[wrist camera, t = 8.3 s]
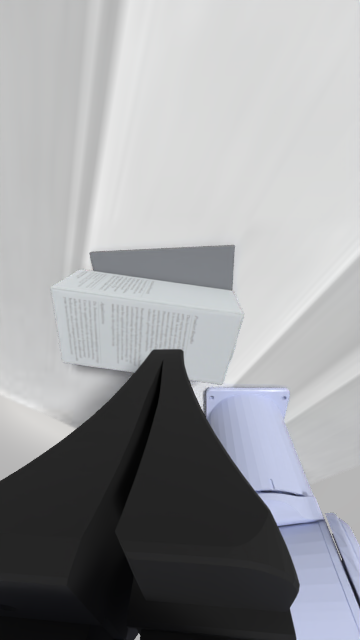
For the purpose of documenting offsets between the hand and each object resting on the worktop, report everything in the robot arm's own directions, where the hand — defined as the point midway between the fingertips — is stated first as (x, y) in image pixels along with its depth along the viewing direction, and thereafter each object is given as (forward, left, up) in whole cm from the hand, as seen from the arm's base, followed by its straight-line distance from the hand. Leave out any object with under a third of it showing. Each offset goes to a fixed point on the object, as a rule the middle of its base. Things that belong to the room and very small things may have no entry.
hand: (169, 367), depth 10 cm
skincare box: (0, +8, -6) cm, 11 cm away
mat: (0, +1, -9) cm, 9 cm away
